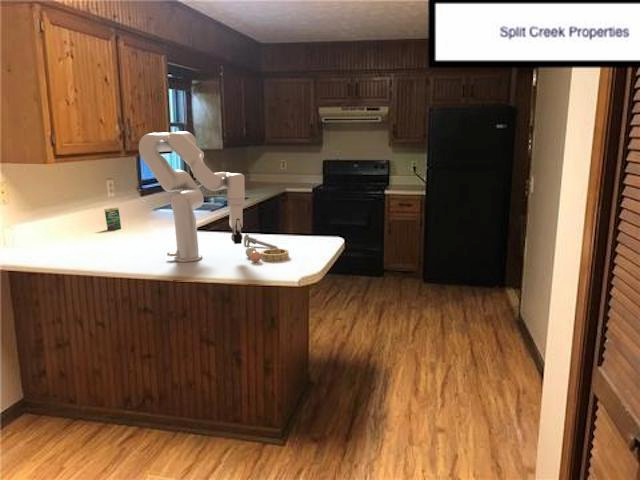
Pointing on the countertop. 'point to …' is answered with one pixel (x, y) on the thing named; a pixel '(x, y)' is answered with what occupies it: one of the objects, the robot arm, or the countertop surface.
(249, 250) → the cream ball
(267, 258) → the ring
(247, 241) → the caliper
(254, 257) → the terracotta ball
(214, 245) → the countertop surface
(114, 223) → the coffee box
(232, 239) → the steel ball
